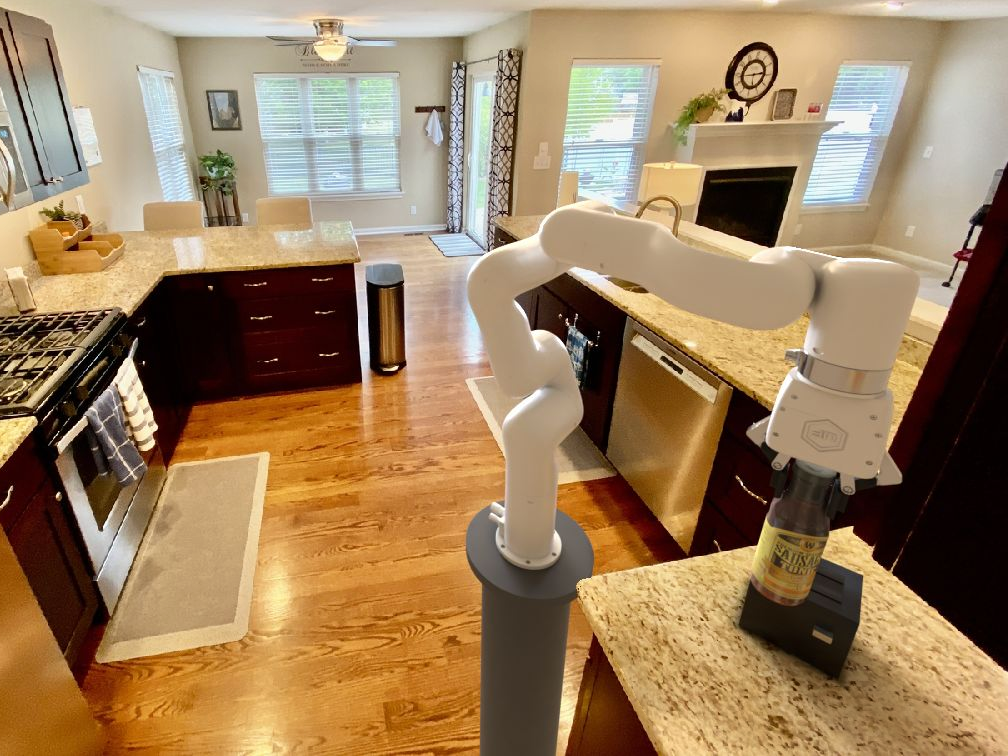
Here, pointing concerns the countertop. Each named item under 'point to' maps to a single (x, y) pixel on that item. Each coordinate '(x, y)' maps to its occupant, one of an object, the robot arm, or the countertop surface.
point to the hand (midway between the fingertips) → (804, 500)
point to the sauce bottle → (794, 536)
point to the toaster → (811, 618)
